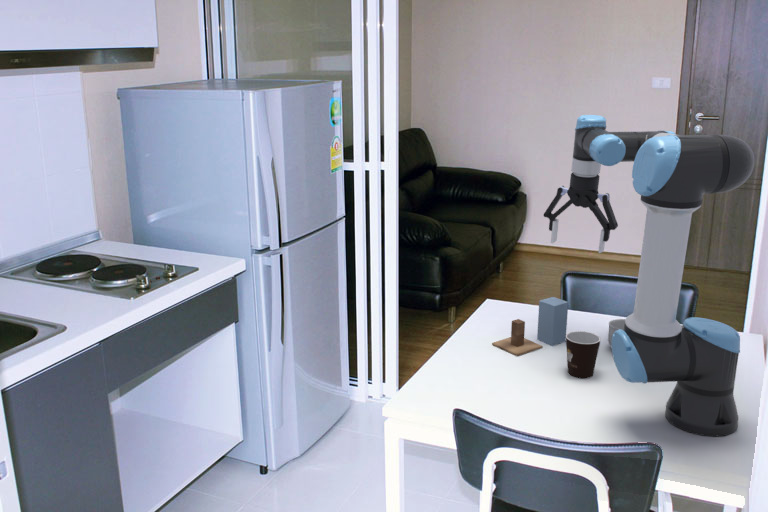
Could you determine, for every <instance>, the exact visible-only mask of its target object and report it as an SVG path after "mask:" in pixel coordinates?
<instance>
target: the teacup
mask: <svg viewBox="0 0 768 512" xmlns="http://www.w3.org/2000/svg"><path fill="white" fill-rule="evenodd" d="M625 319H626V318H617V319H613V320H610V321H608V334H607V341H608V345H609V346H610V347H611V348H612V336H613V334H614V332H615V331H617V330H619V329H622V330H624V325H625Z"/></svg>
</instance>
